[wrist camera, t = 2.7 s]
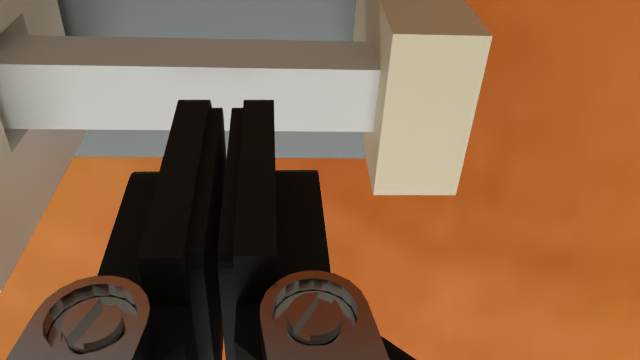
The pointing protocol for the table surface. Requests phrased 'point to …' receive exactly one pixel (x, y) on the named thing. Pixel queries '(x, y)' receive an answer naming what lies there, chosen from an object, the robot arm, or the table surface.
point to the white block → (29, 146)
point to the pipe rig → (262, 78)
